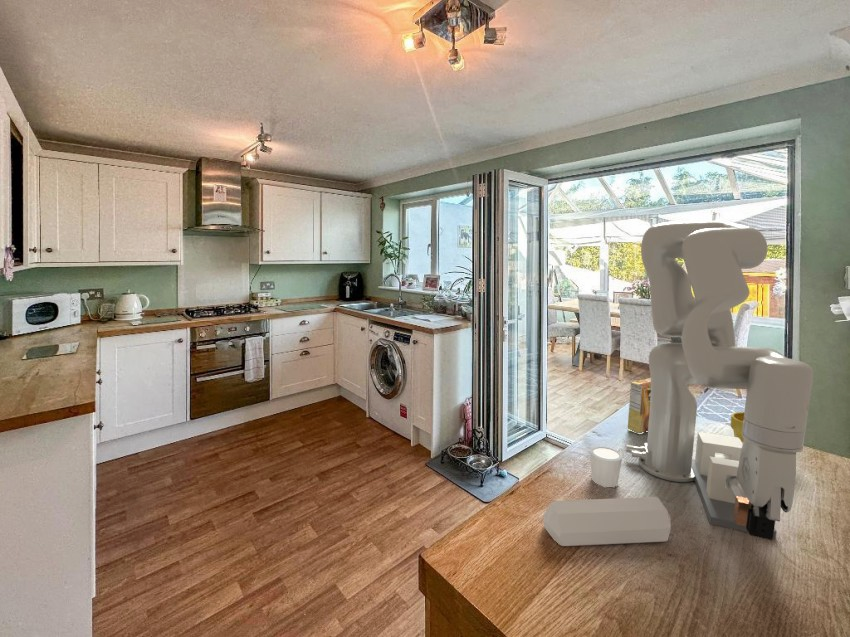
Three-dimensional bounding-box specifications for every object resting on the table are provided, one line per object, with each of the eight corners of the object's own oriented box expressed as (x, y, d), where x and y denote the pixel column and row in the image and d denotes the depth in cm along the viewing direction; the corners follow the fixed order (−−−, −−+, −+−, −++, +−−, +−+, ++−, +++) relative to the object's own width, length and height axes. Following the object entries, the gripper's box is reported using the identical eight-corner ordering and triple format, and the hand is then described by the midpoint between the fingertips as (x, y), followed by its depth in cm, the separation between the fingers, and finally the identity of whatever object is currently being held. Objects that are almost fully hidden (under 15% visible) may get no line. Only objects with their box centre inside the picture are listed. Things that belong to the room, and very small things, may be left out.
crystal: (554, 537, 68) (687, 531, 69) (543, 497, 74) (666, 492, 75) (545, 554, 73) (670, 548, 74) (535, 515, 79) (652, 510, 80)
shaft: (767, 531, 69) (770, 508, 68) (736, 524, 71) (739, 502, 70) (735, 474, 87) (737, 455, 86) (711, 470, 89) (713, 452, 88)
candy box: (645, 424, 122) (649, 377, 120) (659, 430, 118) (663, 381, 116) (626, 430, 118) (629, 381, 116) (639, 436, 114) (643, 385, 112)
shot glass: (583, 473, 95) (584, 446, 94) (610, 472, 96) (612, 445, 95) (598, 490, 88) (599, 461, 87) (627, 488, 89) (629, 459, 88)
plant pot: (736, 441, 110) (740, 408, 109) (784, 456, 102) (789, 420, 100) (721, 452, 104) (724, 417, 103) (770, 468, 96) (775, 431, 94)
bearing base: (775, 538, 73) (781, 491, 71) (710, 523, 77) (714, 479, 75) (737, 472, 94) (742, 435, 93) (688, 464, 99) (691, 428, 97)
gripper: (731, 413, 72) (721, 504, 75) (758, 449, 59) (744, 558, 62) (784, 419, 69) (771, 514, 72) (825, 459, 55) (807, 574, 58)
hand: (758, 534), depth 67 cm, fingers closed
